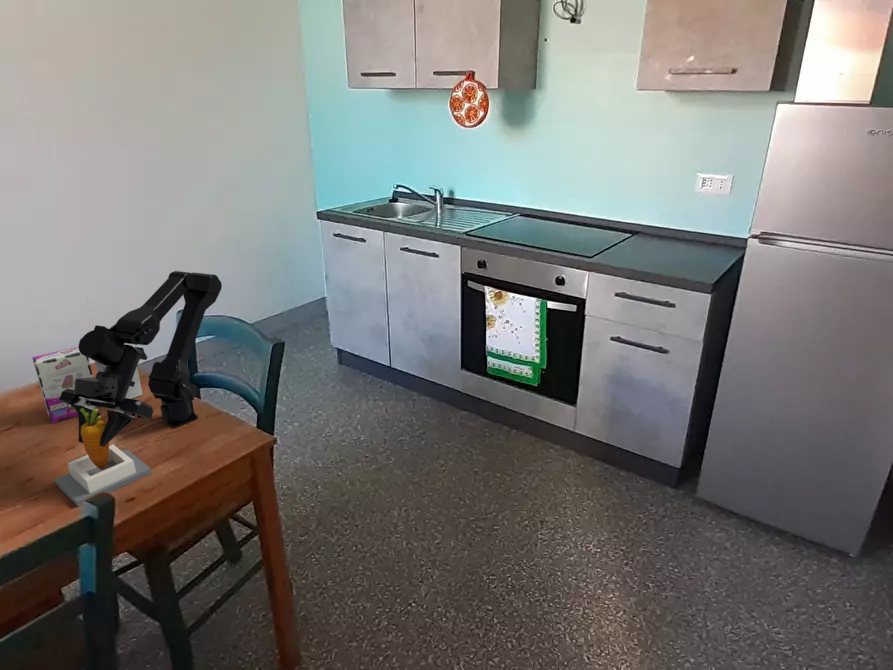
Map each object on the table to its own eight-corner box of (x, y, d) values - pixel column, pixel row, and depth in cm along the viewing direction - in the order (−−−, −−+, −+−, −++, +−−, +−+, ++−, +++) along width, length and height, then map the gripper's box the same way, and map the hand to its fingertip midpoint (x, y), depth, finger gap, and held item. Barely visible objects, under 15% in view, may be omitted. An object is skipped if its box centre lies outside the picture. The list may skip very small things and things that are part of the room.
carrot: (85, 469, 133) (71, 407, 127) (110, 459, 136) (97, 399, 130) (94, 479, 130) (80, 417, 124) (119, 469, 133) (107, 408, 127)
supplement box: (129, 386, 171) (121, 344, 166) (143, 395, 167) (135, 352, 162) (101, 396, 166) (92, 352, 161) (115, 405, 162) (105, 361, 157)
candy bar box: (96, 402, 163) (83, 344, 156) (101, 410, 159) (88, 351, 153) (47, 415, 156) (31, 356, 150) (50, 424, 153) (34, 363, 146)
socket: (127, 453, 142) (124, 437, 140) (151, 473, 136) (148, 456, 134) (55, 484, 132) (51, 467, 130) (78, 506, 125) (73, 489, 123)
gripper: (54, 354, 129) (23, 428, 124) (133, 365, 125) (104, 443, 119) (91, 371, 139) (63, 440, 134) (165, 382, 135) (139, 454, 130)
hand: (91, 444), depth 129 cm, fingers closed on carrot, 5 cm apart
